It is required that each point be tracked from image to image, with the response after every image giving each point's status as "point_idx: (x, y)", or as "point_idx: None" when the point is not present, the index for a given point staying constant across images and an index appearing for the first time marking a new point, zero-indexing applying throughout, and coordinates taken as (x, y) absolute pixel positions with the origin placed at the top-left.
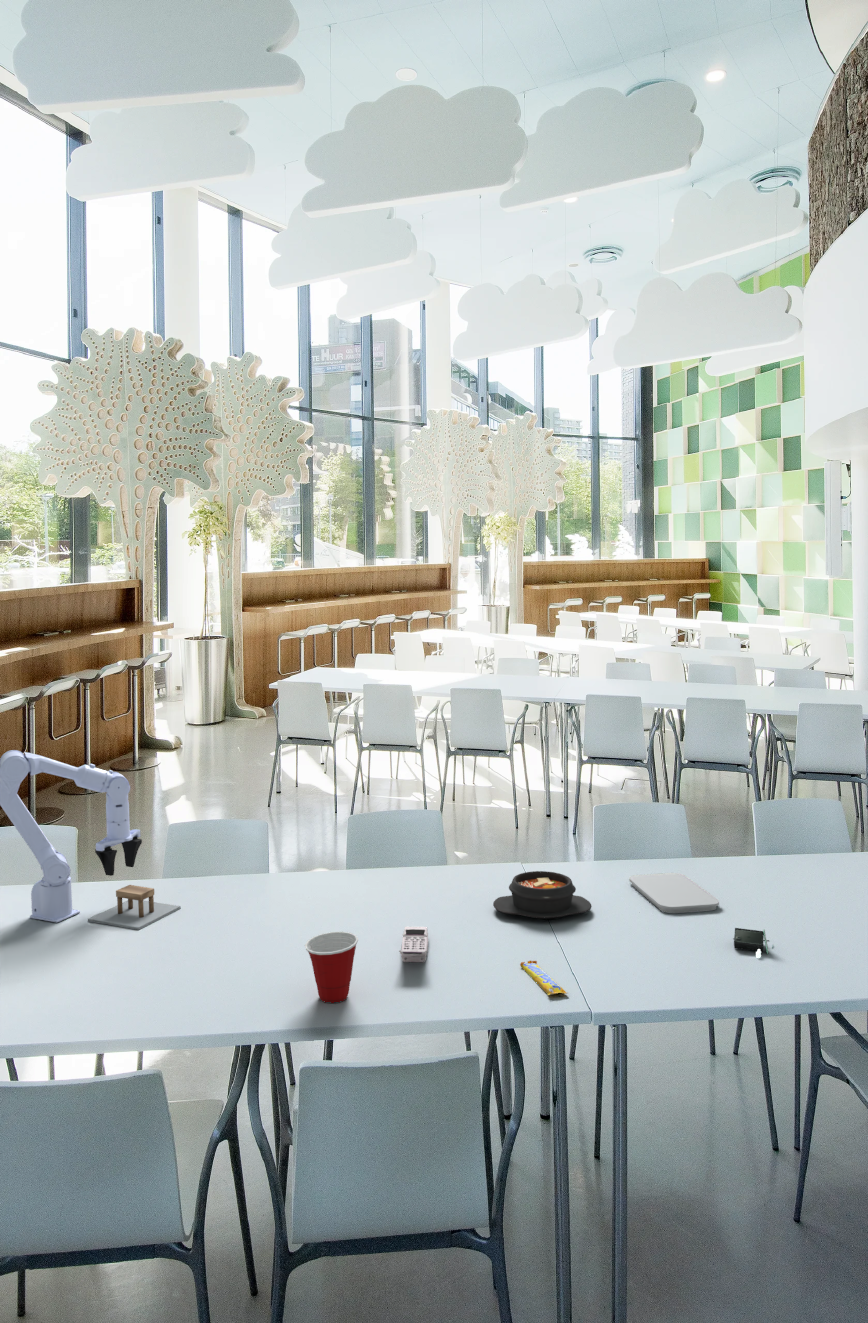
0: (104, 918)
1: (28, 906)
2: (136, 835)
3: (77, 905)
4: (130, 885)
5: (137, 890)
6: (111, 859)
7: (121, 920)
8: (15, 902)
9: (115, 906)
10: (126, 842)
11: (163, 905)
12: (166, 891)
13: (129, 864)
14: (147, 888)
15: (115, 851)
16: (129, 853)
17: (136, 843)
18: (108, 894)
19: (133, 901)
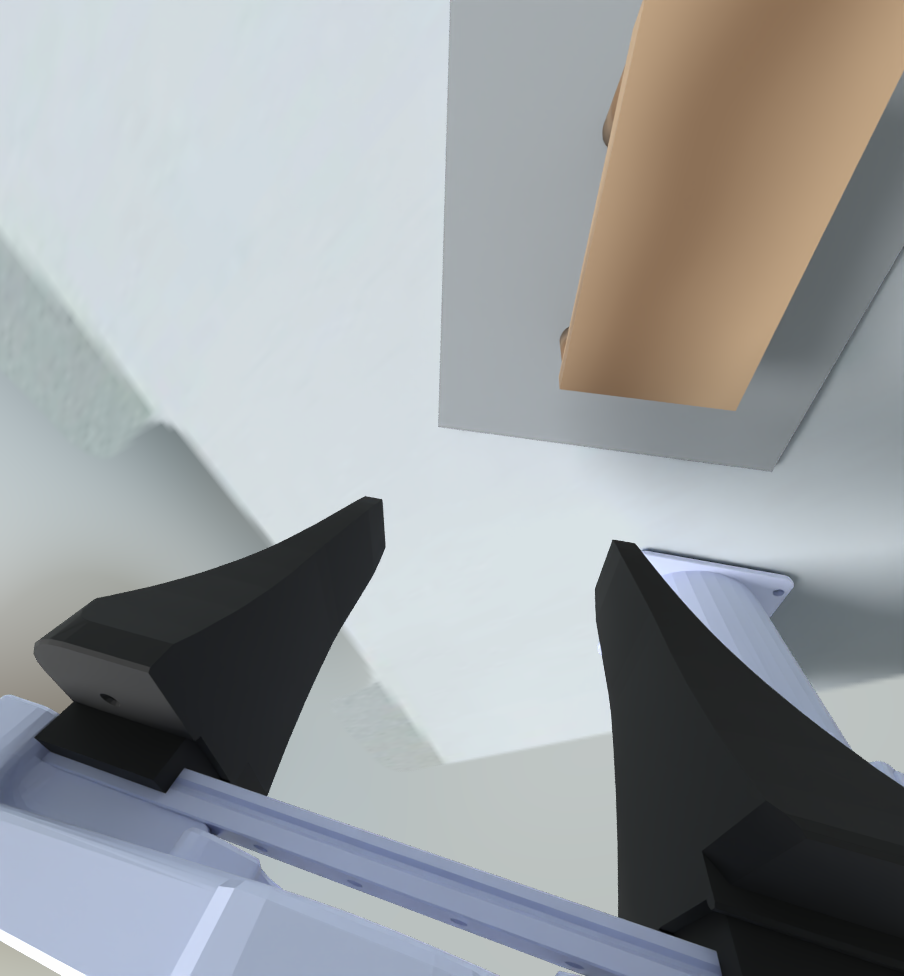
0: (769, 387)
1: (589, 704)
2: (27, 763)
3: (549, 592)
4: (578, 369)
5: (733, 184)
6: (774, 695)
7: (827, 243)
8: (561, 734)
9: (559, 439)
10: (248, 748)
11: (477, 137)
12: (272, 336)
13: (374, 533)
14: (650, 103)
15: (846, 827)
16: (320, 603)
17: (187, 645)
18: (410, 548)
19: (470, 393)
